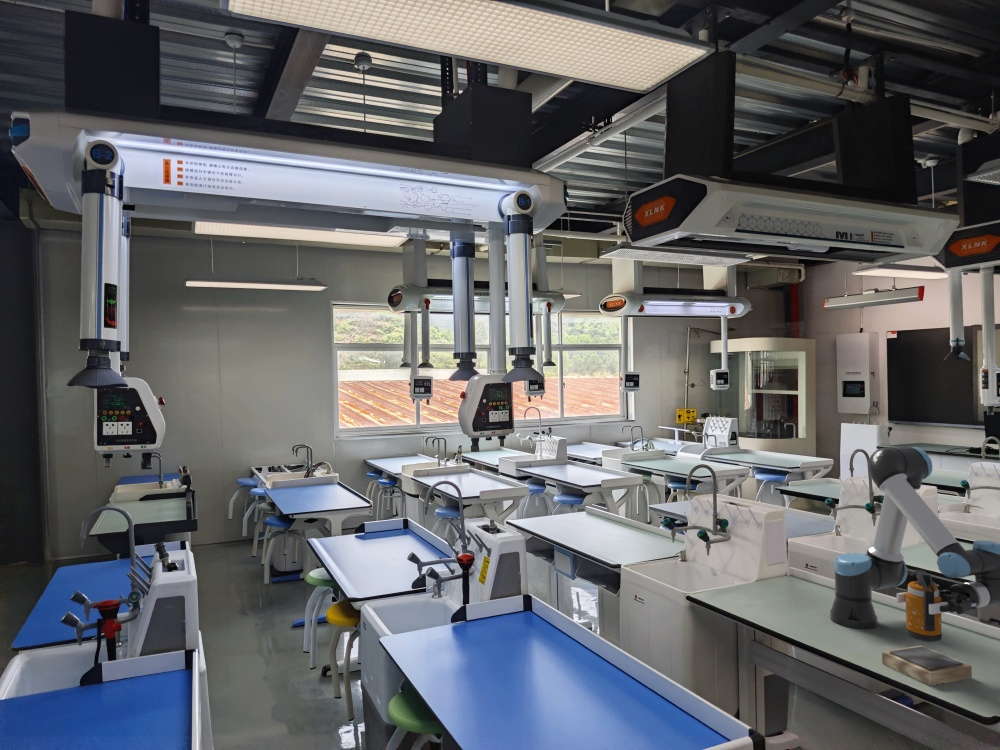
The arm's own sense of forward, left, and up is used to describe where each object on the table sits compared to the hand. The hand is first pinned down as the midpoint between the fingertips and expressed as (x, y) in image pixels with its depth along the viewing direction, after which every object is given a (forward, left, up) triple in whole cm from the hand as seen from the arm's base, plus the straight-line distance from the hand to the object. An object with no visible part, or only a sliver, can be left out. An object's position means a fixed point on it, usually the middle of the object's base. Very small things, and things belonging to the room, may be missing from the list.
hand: (913, 603), depth 197 cm
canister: (0, +4, -11) cm, 12 cm away
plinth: (0, +4, -20) cm, 21 cm away
